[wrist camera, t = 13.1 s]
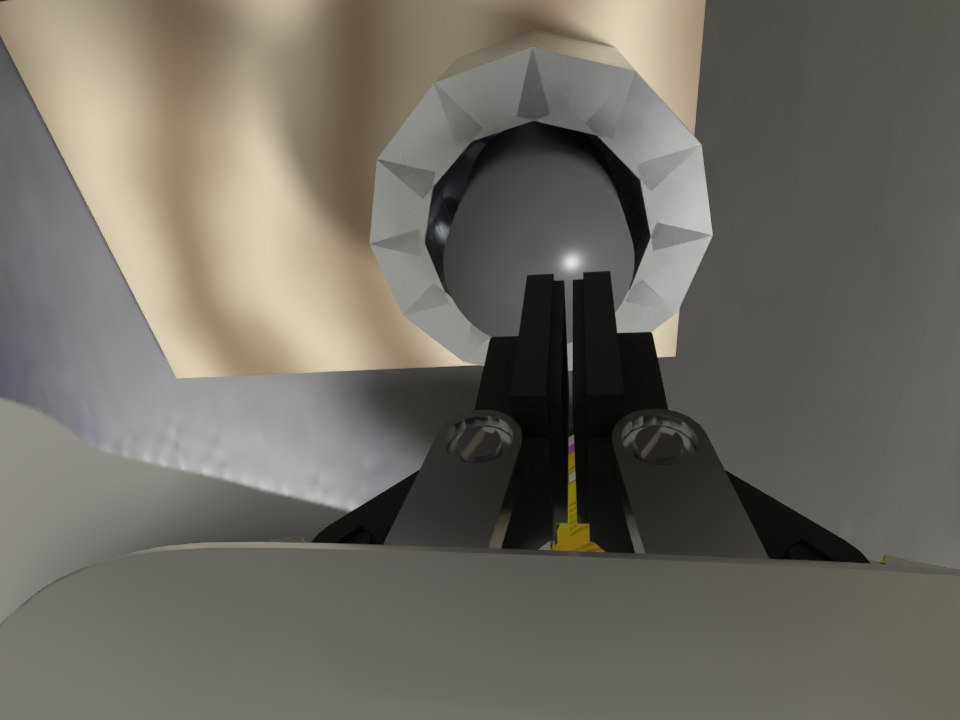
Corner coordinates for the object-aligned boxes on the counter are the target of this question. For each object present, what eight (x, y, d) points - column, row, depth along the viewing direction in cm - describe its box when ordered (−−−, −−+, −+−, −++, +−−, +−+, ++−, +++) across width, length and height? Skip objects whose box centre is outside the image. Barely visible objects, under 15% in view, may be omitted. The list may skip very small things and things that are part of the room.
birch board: (705, -107, 17) (715, -112, 16) (670, 341, 26) (675, 356, 25) (10, 2, 21) (-16, 4, 20) (189, 364, 30) (176, 378, 29)
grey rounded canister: (537, 84, 19) (536, 128, 14) (643, 192, 20) (675, 266, 15) (438, 199, 21) (406, 271, 16) (539, 287, 23) (538, 377, 18)
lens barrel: (534, -43, 17) (530, -46, 13) (734, 180, 21) (781, 233, 17) (354, 194, 22) (311, 245, 18) (539, 345, 25) (537, 418, 21)
